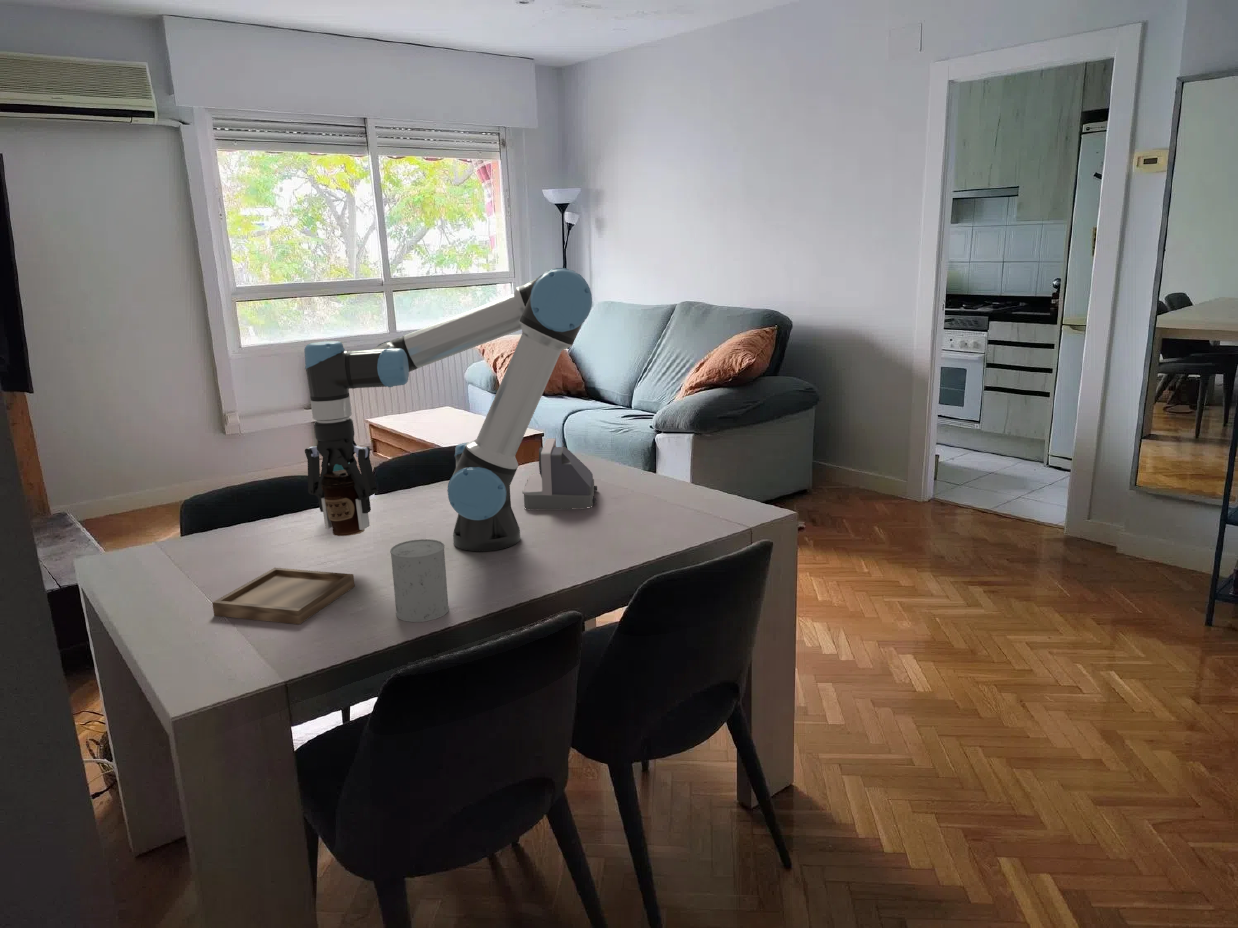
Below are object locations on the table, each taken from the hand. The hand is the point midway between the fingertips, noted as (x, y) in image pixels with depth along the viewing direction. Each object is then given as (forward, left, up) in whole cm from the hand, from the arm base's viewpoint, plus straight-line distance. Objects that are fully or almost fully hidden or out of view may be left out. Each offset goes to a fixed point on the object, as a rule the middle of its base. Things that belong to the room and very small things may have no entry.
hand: (347, 527), depth 175 cm
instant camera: (-27, -57, -10) cm, 64 cm away
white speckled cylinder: (-25, +17, -9) cm, 32 cm away
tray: (+3, +18, -9) cm, 20 cm away
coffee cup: (0, 0, -1) cm, 1 cm away
